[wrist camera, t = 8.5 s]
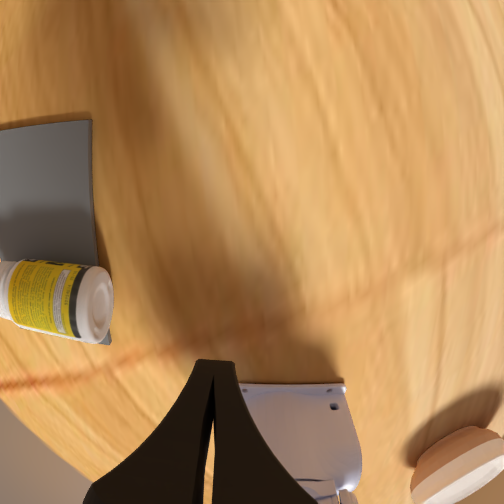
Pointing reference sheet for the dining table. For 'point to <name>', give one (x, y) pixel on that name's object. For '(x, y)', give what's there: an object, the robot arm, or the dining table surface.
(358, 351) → the dining table surface
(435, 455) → the bowl
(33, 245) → the mat
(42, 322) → the supplement bottle
